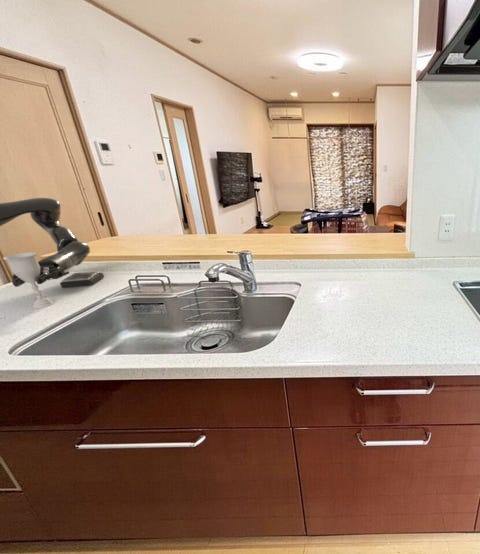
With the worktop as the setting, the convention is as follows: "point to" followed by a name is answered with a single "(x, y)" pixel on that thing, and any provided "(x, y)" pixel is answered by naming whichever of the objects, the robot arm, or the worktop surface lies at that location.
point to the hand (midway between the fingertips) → (26, 282)
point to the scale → (82, 279)
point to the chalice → (28, 274)
